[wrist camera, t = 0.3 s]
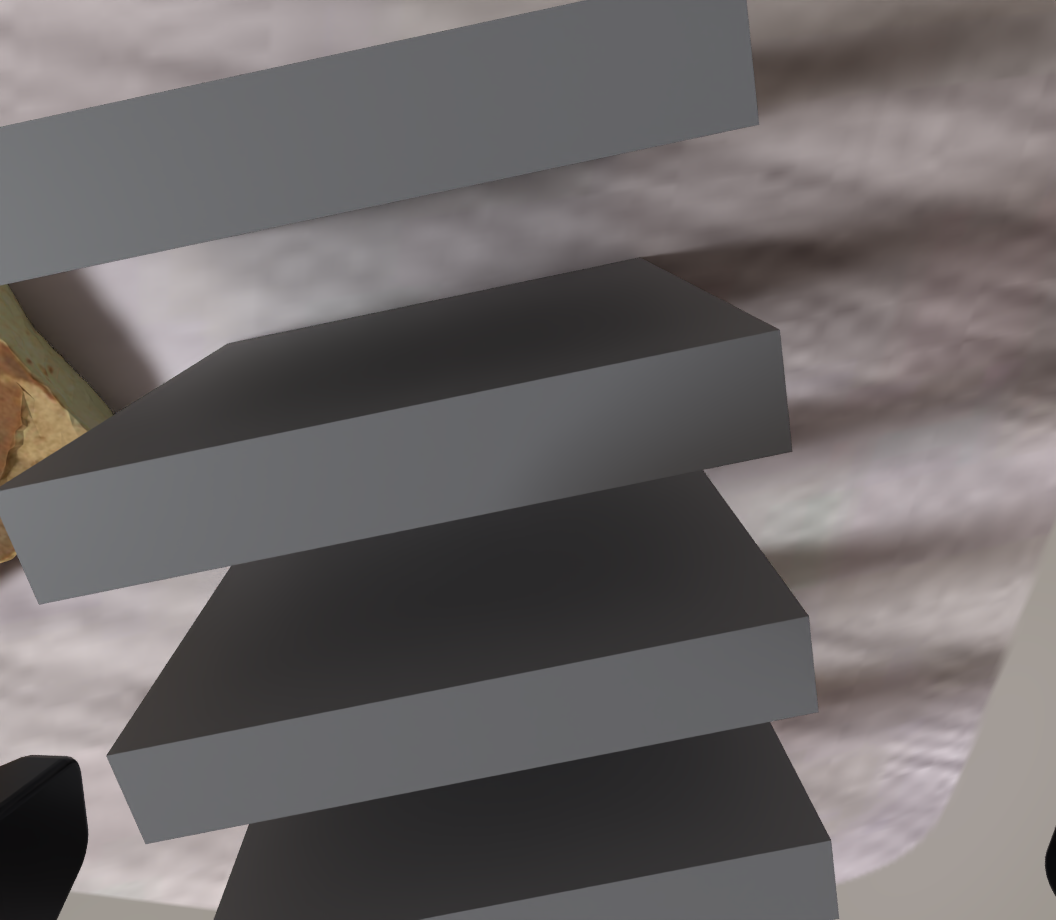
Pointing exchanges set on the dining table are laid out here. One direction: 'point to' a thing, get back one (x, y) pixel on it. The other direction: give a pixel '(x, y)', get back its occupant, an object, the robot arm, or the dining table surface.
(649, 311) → the domino
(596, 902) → the domino
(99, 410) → the shard
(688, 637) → the domino
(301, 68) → the domino
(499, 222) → the dining table surface
